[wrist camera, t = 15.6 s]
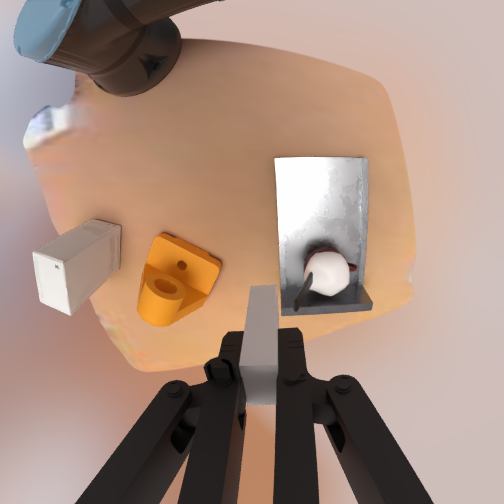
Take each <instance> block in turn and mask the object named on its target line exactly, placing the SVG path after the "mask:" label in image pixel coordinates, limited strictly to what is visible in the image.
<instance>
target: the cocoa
mask: <svg viewBox="0 0 504 504" xmlns="http://www.w3.org/2000/svg"><path fill="white" fill-rule="evenodd" d="M356 270H357V266H356V265H355V264H352V263H349V262H347V261H346V259H345V257H344V256H343V255H342V254H341V253H339V252H338V251H337V250H335V249H333V248H328V247H321V248H317V249H315V250H314V251H312V252H311V253H310V254H309V255H308V257H307V259H306V261H305V263H304V279H305V282H304V284H303V285H302V287H301V289H300V291H299V292H298V294H297V296H296V297H295V299H294V311H295V312H297V311H298V310H299V308H300V306H301V304H302V302H303V300H304V298H305V297H306V295H307V293H308V291H309V289H310V290H313V291H316V292H318V293H320V294H323V295H327V296H333V295H335V294H337V293H338V292H340V291H341V290H343V289H345V288H346V286H347V285H348V284H349V277H350V274H349V271H350V272H353V271H356Z"/></svg>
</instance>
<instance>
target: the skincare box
mask: <svg viewBox="0 0 504 504" xmlns="http://www.w3.org/2000/svg"><path fill="white" fill-rule="evenodd" d="M120 236H121V226H120V225H115V224H111V223H107V222H103V221H99V220H95V219H91V220H89V221H87V222H85V223H83V224H81V225H79V226H78V227H76V228H74V229H72V230H70V231H68V232H66V233H64V234H63V235H61V236H59V237H57V238H55V239H54V240H52V241H50V242H48V243H46V244H45V245H43V246H42V247H40V248H38V249H36V250H34V251H33V260H34V267H35V274H36V280H37V286H38V292H39V297H40V301H41V302H42V303H44V304H46V305H48V306H51V307H53V308H55V309H57V310H59V311H62V312H63V313H66V314H68V315H72V314H73V313H74V312H75V311H76V310H77V309H78V308H79V307H80V306H81V305H82V304H83V303H84V302H85V301H86V300H87V299H88V298H89V297H90V296H91V295H92V294H93V293H94V292H95V291H96V290H97V289H98V288H99V287H100V286H101V285H102V284H103V283H104V282H105V281H107V280H108V279H109V278H110V277H111V276H112V275H113V274H114V273H115V272H116V271H117V270H118V269H120Z"/></svg>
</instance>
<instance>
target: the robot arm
mask: <svg viewBox="0 0 504 504" xmlns="http://www.w3.org/2000/svg"><path fill="white" fill-rule="evenodd" d="M214 1H224V0H27V1H26V2H25V4H24V6H23V8H22V10H21V12H20V14H19V17H18V20H17V23H16V26H15V31H14V46H15V49H16V51H17V52H18V53H19V54H20V55H21V56H24V57H27V58H31V59H33V60H35V61H36V62H38V63H45V64H50V65H55V66H59V67H62V68H67V69H71V70H74V71H78V72H82V73H85V74H87V75H88V76H89V77H90V78H91V79H92V80H93V81H94V82H95V84H96V85H97V86H98V87H99V88H100V89H101V90H103V91H105V92H107V93H110V94H113V95H117V96H133V95H137V94H140V93H143V92H145V91H147V90H149V89H150V88H152V87H154V86H155V85H156V84H158V83H159V82H160V81H161V80H162V79H163V78H164V77H165V76H166V75H167V74H168V73H169V72H170V70H171V69H172V67H173V66H174V64H175V62H176V60H177V58H178V56H179V53H180V49H181V35H180V32H179V29H178V28H177V26H176V25H175V24H174V23H173V22H172V20H171V19H170V18H169V17H170V16H173V15H175V14H178V13H180V12H183V11H186V10H189V9H192V8H195V7H198V6H201V5H204V4H208V3H211V2H214ZM204 370H205V373H206V377H207V380H208V381H206V382H204V383H201V384H197V385H192V386H189V385H188V384H187V383H186V382H183V381H180V380H175V381H170V382H168V383H166V384H165V385H164V386H163V387H162V388H161V390H160V391H159V392H158V394H157V395H156V396H155V398H154V399H153V400H152V402H151V403H150V404H149V406H148V407H147V408H146V410H145V411H144V413H143V414H142V415H141V416H140V418H139V419H138V420H137V422H136V423H135V425H134V426H133V427H132V429H131V430H130V431H129V433H128V434H127V435H126V437H125V438H124V439H123V441H122V442H121V443H120V445H119V446H118V447H117V449H116V450H115V451H114V453H113V454H112V455H111V457H110V458H109V459H108V461H107V462H106V463H105V465H104V466H103V467H102V469H101V470H100V471H99V473H98V474H97V475H96V477H95V478H94V479H93V480H92V482H91V483H90V485H89V486H88V487H87V489H86V490H85V491H84V492H83V494H82V495H81V496H80V498H79V499H78V500H77V502H76V503H75V504H159V503H160V502H161V500H162V498H163V497H164V495H165V493H166V491H167V490H168V488H169V486H170V485H171V483H172V482H173V480H174V478H175V476H176V474H177V473H178V471H179V470H180V468H181V466H182V464H183V462H184V461H185V459H186V457H187V456H188V454H189V452H190V454H189V458H188V462H187V466H186V470H185V474H184V478H183V483H182V487H181V491H180V495H179V499H178V504H237V498H238V490H239V481H240V472H241V461H242V454H243V444H244V435H245V426H246V409H245V406H246V402H247V405H276V434H275V469H274V493H273V504H319V489H318V472H317V459H316V445H315V433H314V423H317V424H323V426H324V428H325V431H326V433H327V435H328V438H329V440H330V442H331V444H332V446H333V448H334V451H335V453H336V455H337V457H338V460H339V462H340V464H341V466H342V469H343V471H344V473H345V475H346V477H347V480H348V482H349V484H350V486H351V488H352V491H353V493H354V495H355V497H356V500H357V502H358V504H434V503H433V502H432V500H431V498H430V496H429V495H428V493H427V491H426V490H425V488H424V486H423V485H422V483H421V481H420V480H419V478H418V476H417V475H416V473H415V471H414V470H413V468H412V466H411V465H410V463H409V461H408V460H407V458H406V457H405V455H404V454H403V452H402V450H401V448H400V447H399V445H398V444H397V442H396V440H395V439H394V437H393V435H392V434H391V432H390V431H389V429H388V427H387V426H386V424H385V423H384V421H383V419H382V418H381V416H380V415H379V413H378V412H377V410H376V408H375V407H374V405H373V404H372V402H371V401H370V399H369V397H368V396H367V394H366V393H365V391H364V390H363V388H362V387H361V385H360V383H359V382H358V381H357V380H356V379H355V378H354V377H352V376H349V375H338V376H335V377H333V378H332V379H331V380H330V381H324V380H319V379H316V378H314V377H312V376H311V375H310V374H309V373H308V371H307V367H306V359H305V351H304V343H303V335H302V332H301V331H300V330H299V329H298V328H283V329H279V313H278V300H277V287H276V285H264V286H251V289H250V296H249V302H248V309H247V316H246V322H245V329H244V331H232V332H228V333H227V334H226V335H225V336H224V337H223V340H222V344H221V348H220V352H219V356H218V357H216V358H213V359H211V360H209V361H208V362H207V363H206V364H205V366H204Z"/></svg>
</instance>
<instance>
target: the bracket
mask: <svg viewBox="0 0 504 504" xmlns="http://www.w3.org/2000/svg"><path fill="white" fill-rule="evenodd" d="M183 261H184V262H185V263H184V262H183ZM221 268H222V265H221V263H220V261H218V260H217V259H215V258H213V257H211V256H209V253H207V252H205V251H203V250H201V249H199V248H197V247H196V246H194V245H192V244H190V243H188V242H186V241H184V240H182V239H180V238H178V237H176V238H173V237H172V236H170V235H168V234H166V233H162V234H160V235H159V236H157V237H156V238H155V239H154V241H153V244H152V247H151V249H150V252H149V255H148V258H147V261H146V264H145V267H144V270H143V273H142V278H141V284H140V291H139V297H138V305H137V311H138V313H139V315H140V317H141V318H142V319H143V320H144V321H146V322H147V323H149V324H151V325H154V326H158V327H165V326H169V325H171V324H173V323H174V322H176V321H178V320H179V319H181V318H183V317H185V316H186V315H188V314H190V313H191V312H193V311H195V310H197V309H198V308H200V307H202V306H203V304H204V302H205V300H206V298H207V296H208V294H209V292H210V290H211V288H212V286H213V284H214V282H215V280H216V278H217V276H218V274H219V272H220V270H221Z"/></svg>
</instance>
